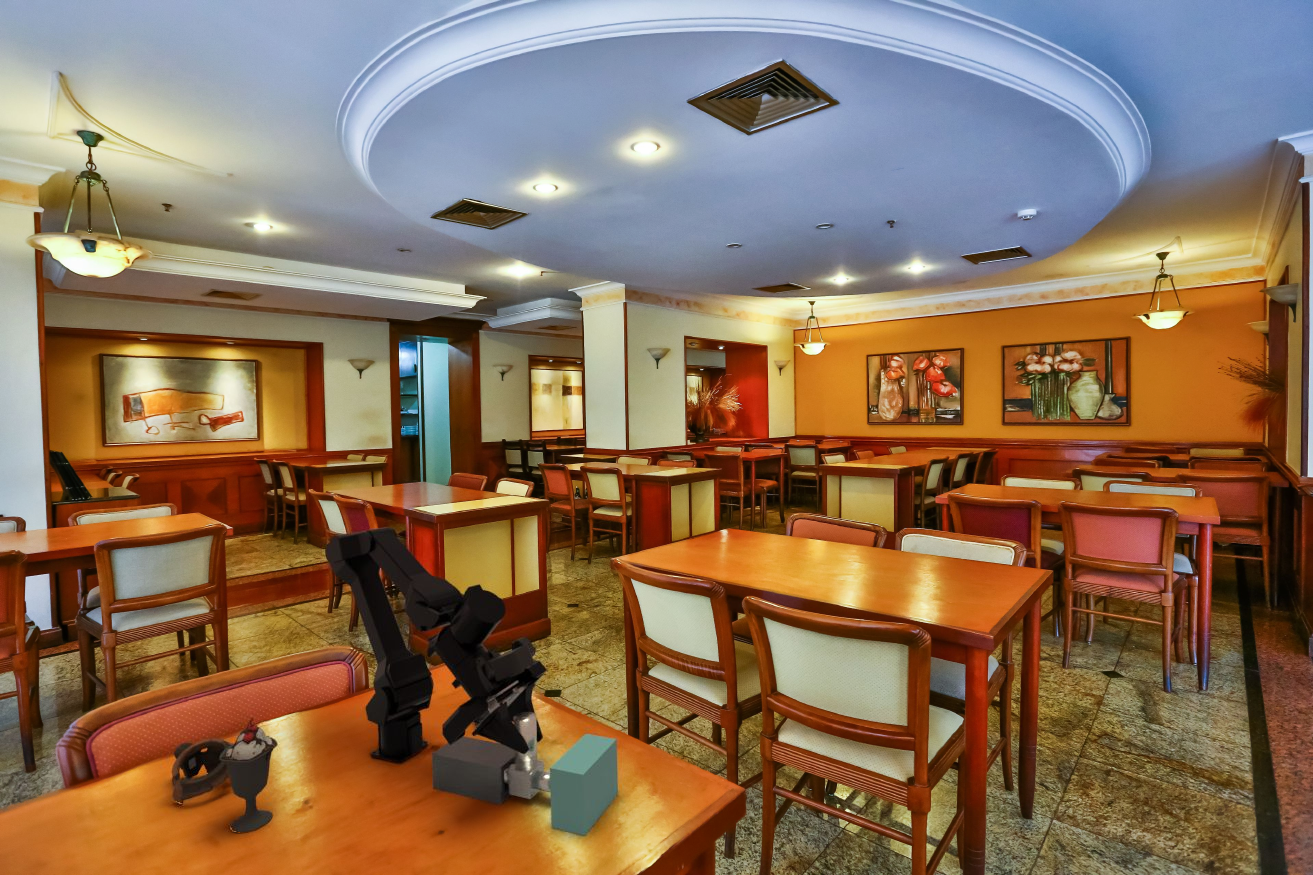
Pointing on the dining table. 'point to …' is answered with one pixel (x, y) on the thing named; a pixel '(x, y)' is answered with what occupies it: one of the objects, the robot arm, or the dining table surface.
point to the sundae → (249, 774)
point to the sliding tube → (527, 762)
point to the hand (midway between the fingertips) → (533, 745)
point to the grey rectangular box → (473, 769)
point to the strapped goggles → (198, 768)
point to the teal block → (583, 784)
